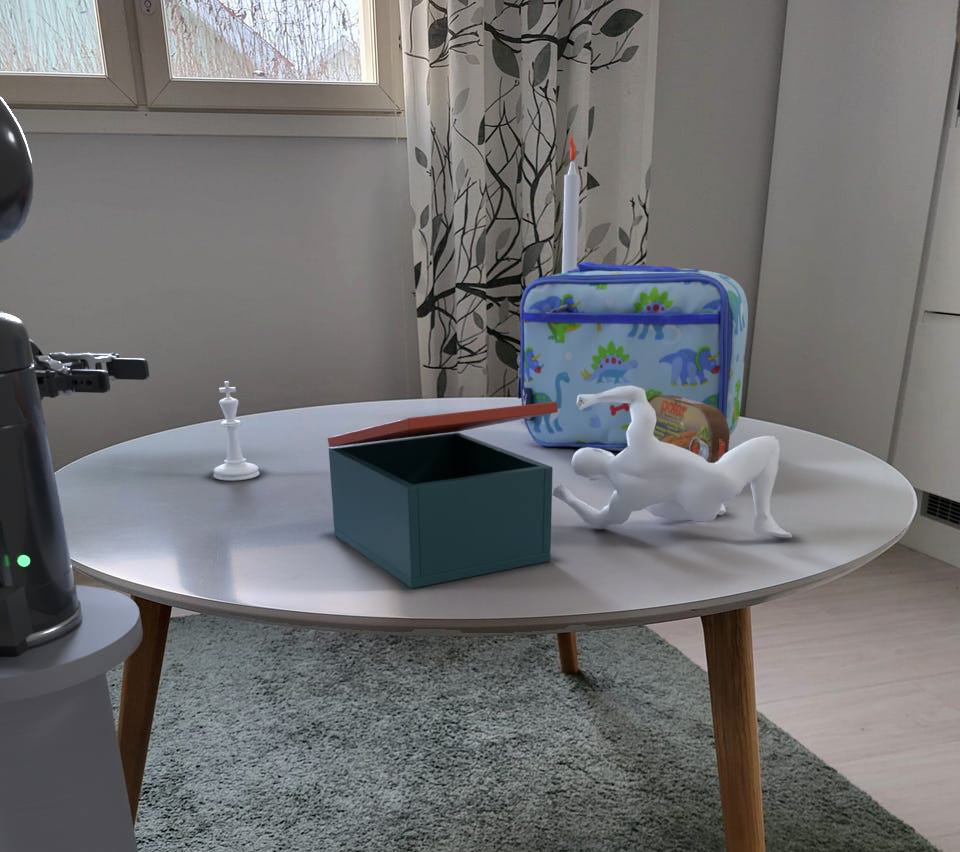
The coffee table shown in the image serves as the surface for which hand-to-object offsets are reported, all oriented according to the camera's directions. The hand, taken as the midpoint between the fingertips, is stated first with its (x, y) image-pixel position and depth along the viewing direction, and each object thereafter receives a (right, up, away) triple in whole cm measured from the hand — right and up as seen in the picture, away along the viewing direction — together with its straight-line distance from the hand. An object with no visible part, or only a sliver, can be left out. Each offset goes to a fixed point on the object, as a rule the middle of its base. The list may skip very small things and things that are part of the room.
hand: (128, 375), depth 103 cm
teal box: (+34, -20, -21) cm, 45 cm away
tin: (+59, -11, 0) cm, 60 cm away
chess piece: (+11, -10, +3) cm, 15 cm away
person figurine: (+55, -19, -18) cm, 60 cm away
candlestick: (+49, +1, +28) cm, 57 cm away
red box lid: (+34, -11, -25) cm, 44 cm away
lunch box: (+55, -5, +14) cm, 57 cm away
